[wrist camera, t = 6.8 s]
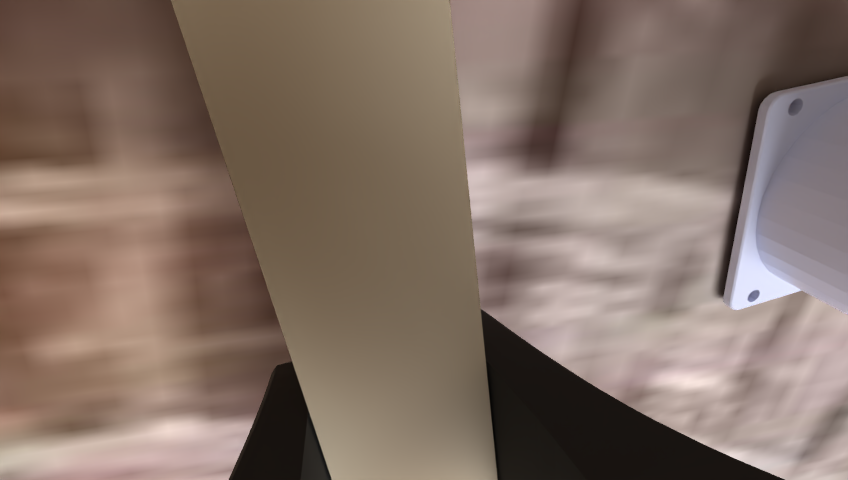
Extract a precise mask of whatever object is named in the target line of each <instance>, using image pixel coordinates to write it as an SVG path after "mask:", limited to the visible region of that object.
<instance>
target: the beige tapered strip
mask: <svg viewBox="0 0 848 480" xmlns="http://www.w3.org/2000/svg"><path fill="white" fill-rule="evenodd" d="M171 3H172V6H173V9H174V12H175V15H176V18H177V20H178V23H179V26H180V29H181V32H182V35H183V38H184V41H185V44H186V47H187V50H188V53H189V56H190V59H191V62H192V65H193V68H194V71H195V74H196V77H197V80H198V83H199V86H200V89H201V92H202V95H203V98H204V101H205V104H206V107H207V110H208V113H209V116H210V119H211V122H212V125H213V128H214V131H215V134H216V136H217V139H218V142H219V145H220V148H221V151H222V154H223V157H224V160H225V163H226V166H227V169H228V172H229V175H230V178H231V181H232V184H233V187H234V190H235V193H236V196H237V199H238V202H239V205H240V208H241V211H242V214H243V217H244V220H245V223H246V226H247V229H248V232H249V235H250V238H251V241H252V244H253V247H254V250H255V252H256V255H257V258H258V261H259V264H260V267H261V270H262V273H263V276H264V279H265V282H266V285H267V288H268V291H269V294H270V297H271V300H272V303H273V306H274V309H275V312H276V315H277V318H278V321H279V324H280V327H281V330H282V333H283V336H284V339H285V342H286V345H287V348H288V351H289V354H290V357H291V360H292V363H293V366H294V368H295V371H296V374H297V377H298V380H299V383H300V386H301V389H302V392H303V395H304V398H305V401H306V404H307V407H308V410H309V413H310V416H311V419H312V422H313V425H314V428H315V431H316V434H317V437H318V440H319V443H320V446H321V449H322V452H323V455H324V458H325V461H326V464H327V467H328V470H329V473H330V476H331V479H332V480H498V478H497V468H496V458H495V448H494V438H493V428H492V418H491V408H490V398H489V388H488V378H487V368H486V358H485V348H484V338H483V328H482V318H481V308H480V298H479V288H478V278H477V269H476V259H475V249H474V239H473V229H472V219H471V209H470V199H469V189H468V179H467V169H466V159H465V149H464V139H463V129H462V119H461V109H460V99H459V89H458V79H457V69H456V59H455V49H454V39H453V29H452V19H451V9H450V0H171Z"/></svg>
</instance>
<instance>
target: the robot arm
mask: <svg viewBox="0 0 848 480" xmlns="http://www.w3.org/2000/svg"><path fill="white" fill-rule="evenodd" d="M789 106H790V107H789ZM801 290H802V291H804V292H806V293H808V294H809V295H811V296H813V297H815V298H817V299H819V300H821V301H822V302H824V303H826V304H828V305H830V306H832V307H834V308H835V309H837V310H839V311H841V312H843V313H845V314H846V315H848V76H845V77H841V78H836V79H831V80H827V81H822V82H818V83H813V84H808V85H804V86H799V87H795V88H790V89H786V90H781V91H776V92H774V93H771V94H769V95H768V96H767V97H766V98H765V99H764V100H763V102H762V103H761V105H760V107H759V110H758V115H757V120H756V126H755V131H754V136H753V142H752V147H751V152H750V158H749V163H748V169H747V174H746V179H745V185H744V190H743V195H742V201H741V206H740V211H739V217H738V222H737V227H736V233H735V238H734V243H733V249H732V254H731V259H730V265H729V270H728V275H727V281H726V286H725V291H724V297H723V302H724V303H725V305H727V306H728V307H730V308H731V309H733V310H739V309H743V308H746V307H749V306H753V305H756V304H759V303H762V302H766V301H769V300H772V299H775V298H779V297H782V296H785V295H788V294H792V293H795V292H798V291H801ZM481 318H482V328H483V338H484V348H485V358H486V368H487V378H488V388H489V398H490V408H491V418H492V428H493V438H494V448H495V458H496V468H497V478H498V480H784V479H782V478H780V477H777V476H775V475H772V474H770V473H768V472H765V471H763V470H760V469H758V468H756V467H753V466H751V465H749V464H746V463H744V462H741V461H739V460H737V459H734V458H732V457H730V456H728V455H726V454H723V453H721V452H719V451H717V450H714V449H712V448H710V447H708V446H706V445H704V444H702V443H700V442H697V441H695V440H693V439H691V438H689V437H687V436H685V435H683V434H681V433H679V432H677V431H675V430H673V429H671V428H669V427H667V426H665V425H663V424H661V423H659V422H657V421H655V420H653V419H651V418H649V417H647V416H646V415H644V414H642V413H640V412H638V411H636V410H634V409H633V408H631V407H629V406H627V405H626V404H624V403H622V402H620V401H619V400H617V399H615V398H614V397H612V396H610V395H608V394H607V393H605V392H603V391H601V390H600V389H598V388H597V387H595V386H593V385H592V384H590V383H588V382H587V381H585V380H584V379H582V378H580V377H579V376H577V375H576V374H574V373H573V372H571V371H569V370H568V369H566V368H565V367H563V366H562V365H560V364H559V363H557V362H556V361H554V360H553V359H551V358H549V357H548V356H547V355H545V354H544V353H542V352H541V351H539V350H538V349H536V348H535V347H533V346H532V345H531V344H529V343H528V342H526V341H525V340H523V339H522V338H521V337H519V336H518V335H516V334H515V333H514V332H512V331H511V330H509V329H508V328H507V327H505V326H504V325H503V324H501V323H500V322H498V321H497V320H496V319H494V318H493V317H492V316H490V315H489V314H487V313H486V312H484V311H483V310H481ZM229 480H332V479H331V476H330V473H329V470H328V467H327V464H326V461H325V458H324V455H323V452H322V449H321V446H320V443H319V440H318V437H317V434H316V431H315V428H314V425H313V422H312V419H311V416H310V413H309V410H308V407H307V404H306V401H305V398H304V395H303V392H302V389H301V386H300V383H299V380H298V377H297V374H296V371H295V368H294V366H293V363H292V362H288V363H285V364H281V365H277V366H276V368H275V369H274V371H273V372H272V374H271V377H270V380H269V383H268V386H267V389H266V392H265V395H264V397H263V400H262V403H261V405H260V408H259V411H258V413H257V416H256V418H255V420H254V423H253V425H252V428H251V430H250V433H249V435H248V437H247V440H246V442H245V444H244V446H243V449H242V451H241V453H240V456H239V458H238V460H237V462H236V465H235V467H234V469H233V471H232V474H231V476H230V478H229Z"/></svg>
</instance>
